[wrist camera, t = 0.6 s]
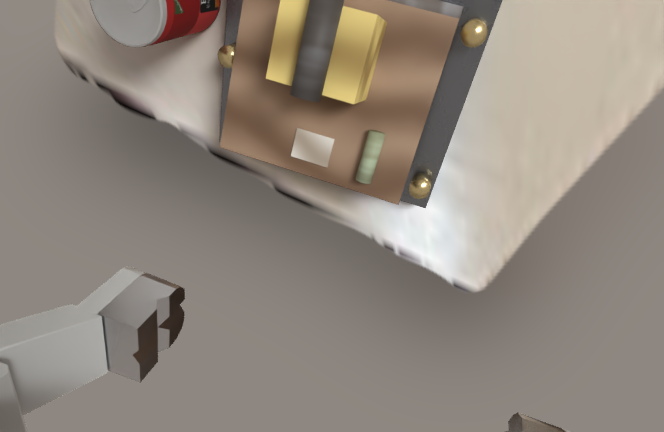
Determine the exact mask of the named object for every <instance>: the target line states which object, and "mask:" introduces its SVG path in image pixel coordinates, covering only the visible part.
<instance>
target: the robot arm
mask: <svg viewBox="0 0 664 432" xmlns="http://www.w3.org/2000/svg"><path fill="white" fill-rule="evenodd" d="M184 299H185V290H184V288H182V287H180V286H178V285H176V284H173V283H170V282H168V281H166V280H163V279H160V278H158V277H156V276H153V275H151V274H148V273H145V272H143V271H140V270H138V269H135V268H133V267H130V266H128V267H125V268H122V269H121V270H119V271H118V272H117V273H116V274H115V275H113V276H112V277H111V278H110V279H109V280H108V281H106V282H105V283H104V284H102V285H101V286H100V287H99V288H98V289H97V290H95V291H94V292H93V293H92V294H90V295H89V296H88V297H87V298H85V299H84V300H83V301H82V302H81V303H79V304H78V305H77V306H75V305H72V304H70V305H66V306H63V307H59V308H56V309H52V310H49V311H45V312H42V313H39V314H35V315H32V316H28V317H25V318H21V319H18V320H14V321H11V322H8V323H4V324H1V325H0V432H28V430H27V427H26V424H25V420H24V417H23V415H25V414H27V413H29V412H31V411H33V410H35V409H37V408H39V407H41V406H42V405H45V404H46V403H48V402H51V401H52V400H54V399H56V398H58V397H60V396H62V395H64V394H66V393H68V392H70V391H72V390H74V389H76V388H78V387H80V386H82V385H84V384H86V383H88V382H90V381H92V380H94V379H96V378H98V377H100V376H102V375H104V374H106V373H108V371H111V372H114V373H116V374H119V375H122V376H124V377H127V378H130V379H132V380H135V381H138V382H141V381H142V380H143V379H144V378H145V377H146V375H147V374H148V373H149V372H150V371H151V369H152V368H153V367H154V366H155V364H156V363H157V362H158V352H160V351H163V350H165V349H168V348H169V347H170V346H171V345H172V344H173V342H174V341H175V340H176V339H177V337H178V334H179V333H180V331H181V329H182V326H183V322H184V310H183V309H182V307H181V306H180V304H181V303H182V302H183V301H184ZM508 424H509V431H506V432H570V431H567V430H563V429H562V428H559V427H556V426H554V425H551V424H548V423H546V422H543V421H540V420H537V419H535V418H532V417H529V416H526V415H524V414H521V413H516V414H514V415H513V416H512V417H511V418H510V420H509V421H508Z"/></svg>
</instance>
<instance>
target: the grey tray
mask: <svg viewBox="0 0 664 432" xmlns="http://www.w3.org/2000/svg"><path fill="white" fill-rule="evenodd" d="M439 1H443V2H447V3H451V4H455V5H459V6H463V10H462V13H461V16H460V19H459V22H458V25H457V28H456V31H455V34H454V37H453V40H452V43H451V46H450V49H449V52H448V55H447V58H446V61H445V64H444V67H443V71H442V74H441V77H440V80H439V83H438V86H437V89H436V92H435V95H434V98H433V101H432V104H431V107H430V110H429V113H428V116H427V119H426V122H425V125H424V128H423V131H422V134H421V137H420V140H419V143H418V146H417V149H416V152H415V155H414V158H413V161H412V165H411V168H410V171H409V174H408V177H407V180H406V183H405V186H404V189H403V192H402V195H401V198H400V200H401V201H404V202H408V203H411V204H414V205H417V206H420V207H423V208H426V205H427V203H428V200H429V197H430V195H431V192H432V189H433V186H434V184H435V181H436V178H437V176H438V173H439V170H440V167H441V165H442V162H443V159H444V157H445V154H446V151H447V149H448V146H449V143H450V140H451V138H452V135H453V132H454V130H455V127H456V124H457V121H458V119H459V116H460V113H461V111H462V108H463V105H464V103H465V100H466V97H467V94H468V92H469V89H470V86H471V84H472V81H473V78H474V76H475V73H476V70H477V67H478V65H479V62H480V59H481V57H482V54H483V51H484V48H485V46H486V43H487V40H488V38H489V35H490V32H491V30H492V27H493V24H494V21H495V19H496V16H497V13H498V11H499V8H500V5H501V3H502V0H439ZM242 4H243V0H227V16H226V34H225V46H223V47H221V48H220V49H219V51H218V59H219V61H220V63H221V64H222V65H223V66H224V70H223V88H222V106H221V124H220V142H221V136H222V129H223V123H224V117H225V111H226V104H227V98H228V92H229V86H230V79H231V73H232V67H233V61H234V54H235V48H236V42H237V36H238V29H239V23H240V17H241V11H242Z"/></svg>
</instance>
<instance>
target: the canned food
mask: <svg viewBox="0 0 664 432" xmlns="http://www.w3.org/2000/svg"><path fill="white" fill-rule="evenodd" d="M90 4H91V8H92V11H93V13H94V15H95V18H96V20H97V21H98V23H99V25H100V26H101V27H102V29H103V30H104V31H105V32H106V33H107V34H108V35H109V36H110V37H111V38H112V39H114V40H115V41H117V42H118V43H120V44H122V45H125V46H129V47H145V46H148V45H153V44H157V43H160V42H164V41H168V40H171V39H175V38H179V37H182V36H186V35H190V34H193V33H197V32H200V31H203V30H205V29H206V28H208V27H209V26H210V25H211V24H212V23H213V21H214V20H215V19H216V17H217V15H218V12H219V9H220V4H221V0H90Z"/></svg>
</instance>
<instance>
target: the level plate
mask: <svg viewBox="0 0 664 432" xmlns="http://www.w3.org/2000/svg"><path fill="white" fill-rule="evenodd" d="M462 10H463V6H459V5H455V4H451V3H447V2H443V1H439V0H243V4H242V11H241V17H240V23H239V29H238V36H237V42H236V48H235V54H234V61H233V67H232V73H231V79H230V86H229V92H228V98H227V104H226V111H225V117H224V123H223V129H222V136H221V142H220V147H221V148H224V149H227V150H230V151H233V152H236V153H239V154H243V155H246V156H249V157H252V158H255V159H258V160H261V161H264V162H267V163H270V164H274V165H277V166H280V167H283V168H286V169H289V170H292V171H295V172H298V173H301V174H305V175H308V176H311V177H314V178H317V179H320V180H323V181H326V182H329V183H333V184H336V185H339V186H342V187H345V188H348V189H351V190H354V191H357V192H360V193H364V194H367V195H370V196H373V197H376V198H379V199H382V200H385V201H388V202H391V203H395V204H399V201H400V198H401V195H402V192H403V189H404V186H405V183H406V180H407V177H408V174H409V171H410V168H411V165H412V161H413V158H414V155H415V152H416V149H417V146H418V143H419V140H420V137H421V134H422V131H423V128H424V125H425V122H426V119H427V116H428V113H429V110H430V107H431V104H432V101H433V98H434V95H435V92H436V89H437V86H438V83H439V80H440V77H441V74H442V71H443V67H444V64H445V61H446V58H447V55H448V52H449V49H450V46H451V43H452V40H453V37H454V34H455V31H456V28H457V25H458V22H459V19H460V16H461V13H462Z"/></svg>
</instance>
